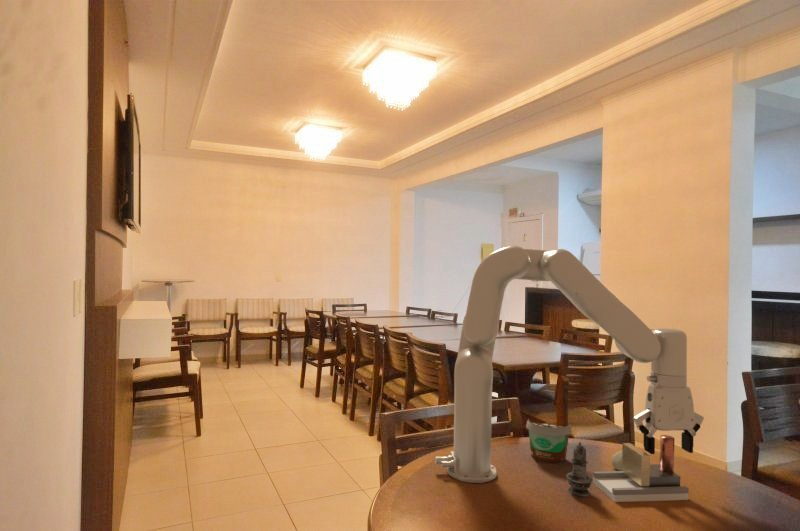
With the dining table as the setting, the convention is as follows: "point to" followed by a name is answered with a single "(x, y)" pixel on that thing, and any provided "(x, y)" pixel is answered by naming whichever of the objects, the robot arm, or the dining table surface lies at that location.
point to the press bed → (635, 488)
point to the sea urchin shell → (617, 460)
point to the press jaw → (651, 475)
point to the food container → (548, 442)
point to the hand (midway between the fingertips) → (668, 451)
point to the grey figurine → (579, 474)
